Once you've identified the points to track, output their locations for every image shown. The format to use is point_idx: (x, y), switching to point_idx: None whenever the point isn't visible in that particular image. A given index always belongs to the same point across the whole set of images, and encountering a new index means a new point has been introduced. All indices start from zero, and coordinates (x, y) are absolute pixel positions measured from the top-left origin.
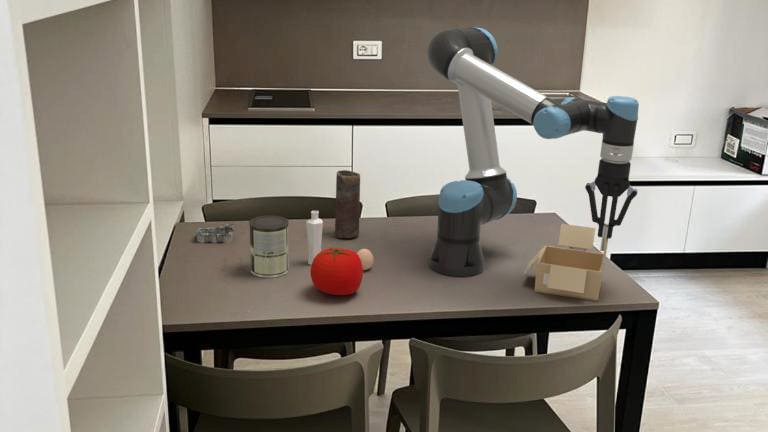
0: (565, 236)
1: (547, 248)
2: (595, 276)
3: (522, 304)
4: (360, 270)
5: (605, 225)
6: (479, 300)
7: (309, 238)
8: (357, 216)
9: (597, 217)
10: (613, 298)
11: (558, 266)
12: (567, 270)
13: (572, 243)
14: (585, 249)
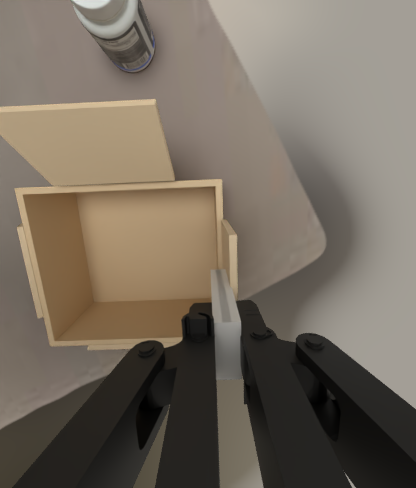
0: (52, 160)
1: (32, 194)
2: None
3: (91, 367)
4: None
5: (224, 357)
6: (16, 381)
7: None
8: None
9: (162, 389)
10: (252, 269)
11: (110, 348)
12: None
13: (97, 176)
14: (141, 29)
